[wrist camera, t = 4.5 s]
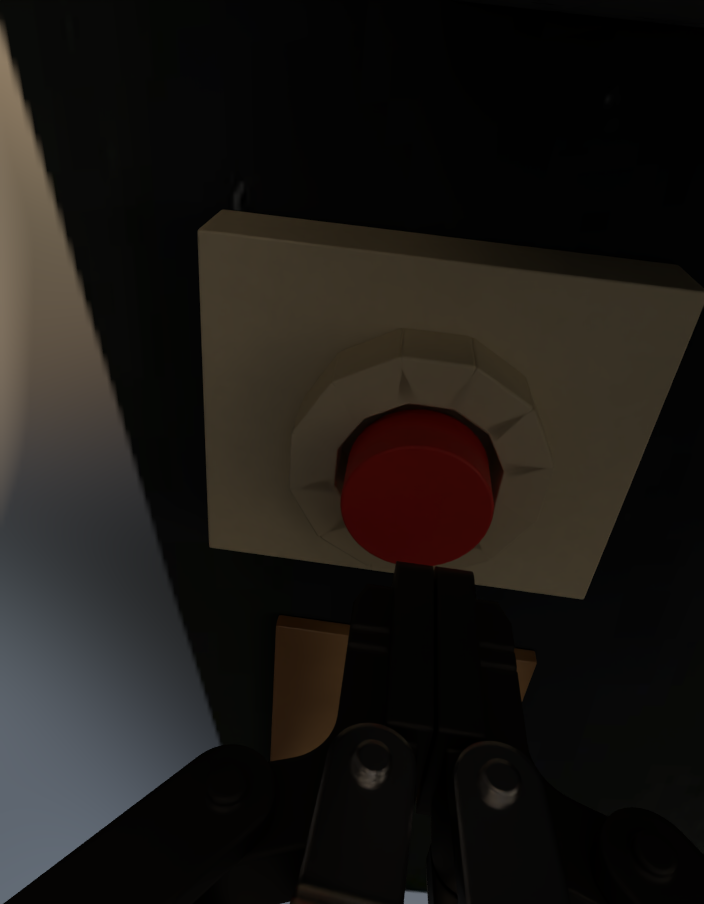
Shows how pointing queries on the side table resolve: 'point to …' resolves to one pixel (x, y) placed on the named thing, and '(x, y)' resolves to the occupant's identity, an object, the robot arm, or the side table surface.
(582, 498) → the control box
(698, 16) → the dark grey square holder
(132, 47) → the side table surface
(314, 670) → the coaster
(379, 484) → the button
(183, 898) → the robot arm
